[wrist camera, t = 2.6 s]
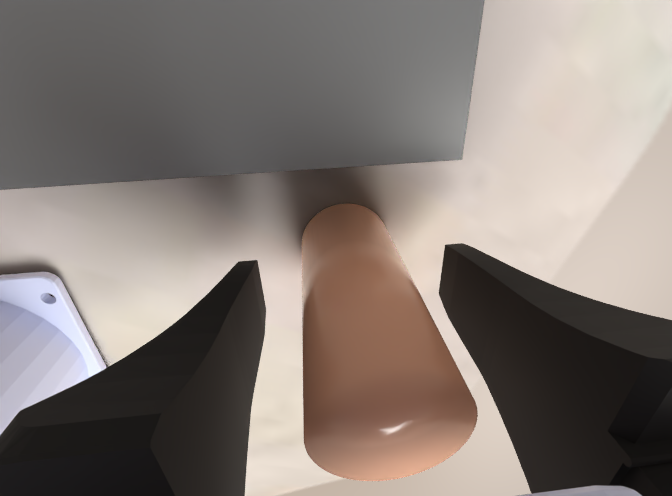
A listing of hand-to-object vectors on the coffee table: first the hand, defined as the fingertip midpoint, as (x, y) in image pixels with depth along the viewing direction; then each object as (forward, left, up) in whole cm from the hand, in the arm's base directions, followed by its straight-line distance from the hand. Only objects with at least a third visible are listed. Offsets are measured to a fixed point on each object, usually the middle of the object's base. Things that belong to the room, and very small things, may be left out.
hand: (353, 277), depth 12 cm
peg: (0, 0, -2) cm, 2 cm away
